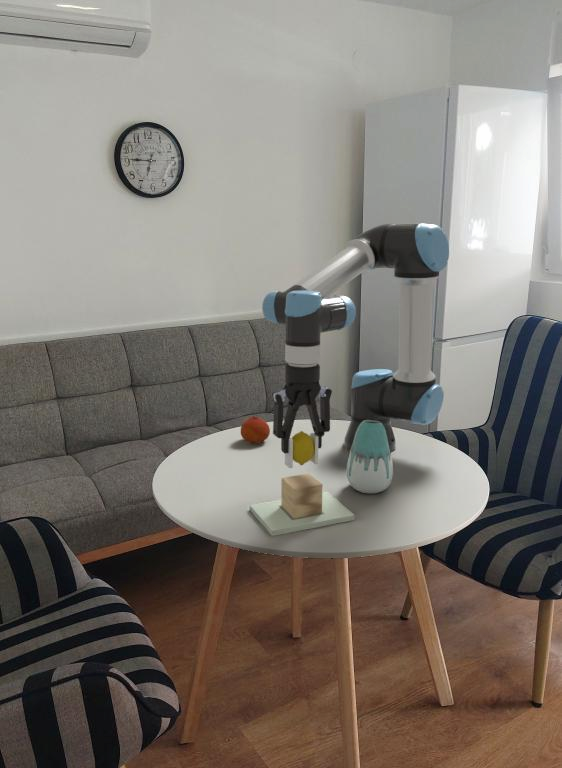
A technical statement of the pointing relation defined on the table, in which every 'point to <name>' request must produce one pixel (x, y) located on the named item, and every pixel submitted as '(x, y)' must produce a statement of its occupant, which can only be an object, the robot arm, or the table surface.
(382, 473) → the vase
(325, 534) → the table surface
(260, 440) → the fruit
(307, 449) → the lemon
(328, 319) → the robot arm
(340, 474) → the table surface
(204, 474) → the table surface
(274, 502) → the board
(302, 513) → the oak cube
